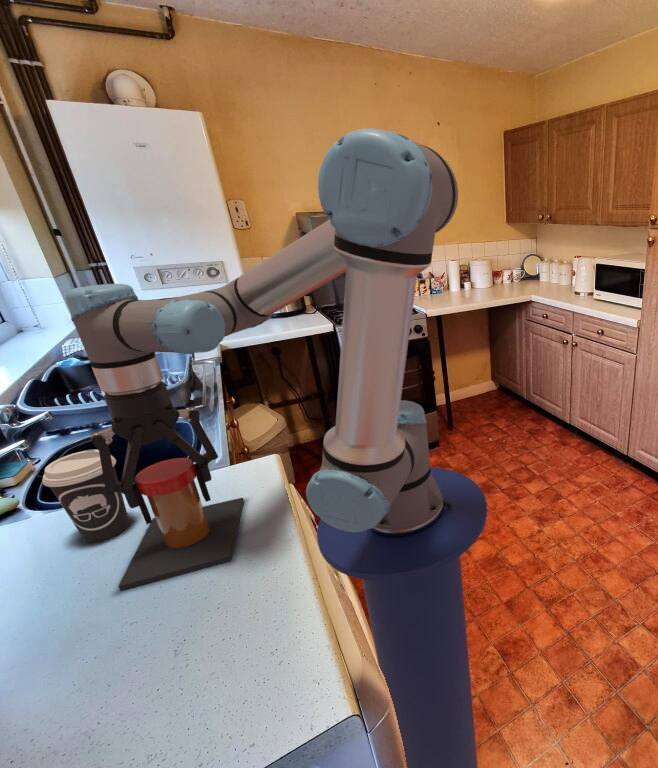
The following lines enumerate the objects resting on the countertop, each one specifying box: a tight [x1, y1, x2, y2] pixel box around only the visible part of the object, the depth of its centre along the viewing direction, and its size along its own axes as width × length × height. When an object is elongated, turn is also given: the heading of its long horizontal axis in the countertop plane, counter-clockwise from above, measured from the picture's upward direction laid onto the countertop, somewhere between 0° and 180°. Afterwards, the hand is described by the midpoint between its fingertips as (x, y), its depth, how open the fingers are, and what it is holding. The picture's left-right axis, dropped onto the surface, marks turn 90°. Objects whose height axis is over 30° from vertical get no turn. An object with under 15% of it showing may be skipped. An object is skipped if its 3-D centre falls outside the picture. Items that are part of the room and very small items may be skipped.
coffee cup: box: [42, 449, 131, 543], centre depth 79 cm, size 10×10×15 cm
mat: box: [118, 497, 245, 592], centre depth 78 cm, size 15×18×1 cm
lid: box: [134, 457, 197, 497], centre depth 74 cm, size 8×8×2 cm
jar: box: [146, 479, 210, 549], centre depth 76 cm, size 7×7×13 cm
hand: (178, 508), depth 76 cm, fingers closed on lid, 8 cm apart
